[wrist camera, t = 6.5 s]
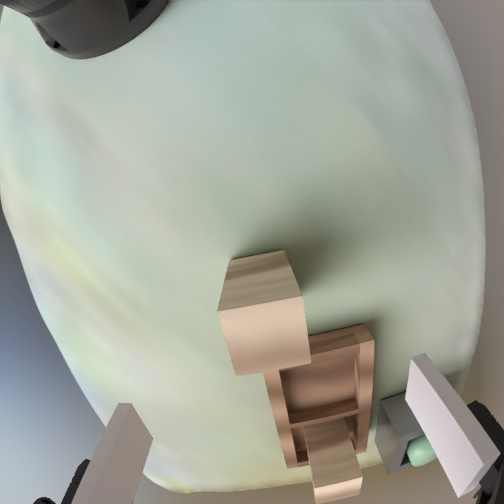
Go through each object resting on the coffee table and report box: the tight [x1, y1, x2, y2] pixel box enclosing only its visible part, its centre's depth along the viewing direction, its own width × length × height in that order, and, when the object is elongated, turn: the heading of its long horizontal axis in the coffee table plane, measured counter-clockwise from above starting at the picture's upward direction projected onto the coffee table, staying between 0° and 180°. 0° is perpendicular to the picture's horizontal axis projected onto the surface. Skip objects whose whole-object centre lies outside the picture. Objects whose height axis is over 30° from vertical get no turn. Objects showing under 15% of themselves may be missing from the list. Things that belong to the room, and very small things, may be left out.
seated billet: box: [303, 417, 362, 504], centre depth 27 cm, size 5×5×10 cm
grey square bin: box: [375, 392, 425, 475], centre depth 29 cm, size 10×10×7 cm
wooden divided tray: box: [263, 324, 374, 469], centre depth 30 cm, size 20×11×3 cm, turn 11°
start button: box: [406, 434, 437, 466], centre depth 26 cm, size 6×6×3 cm
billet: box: [217, 250, 311, 376], centre depth 22 cm, size 5×5×10 cm
